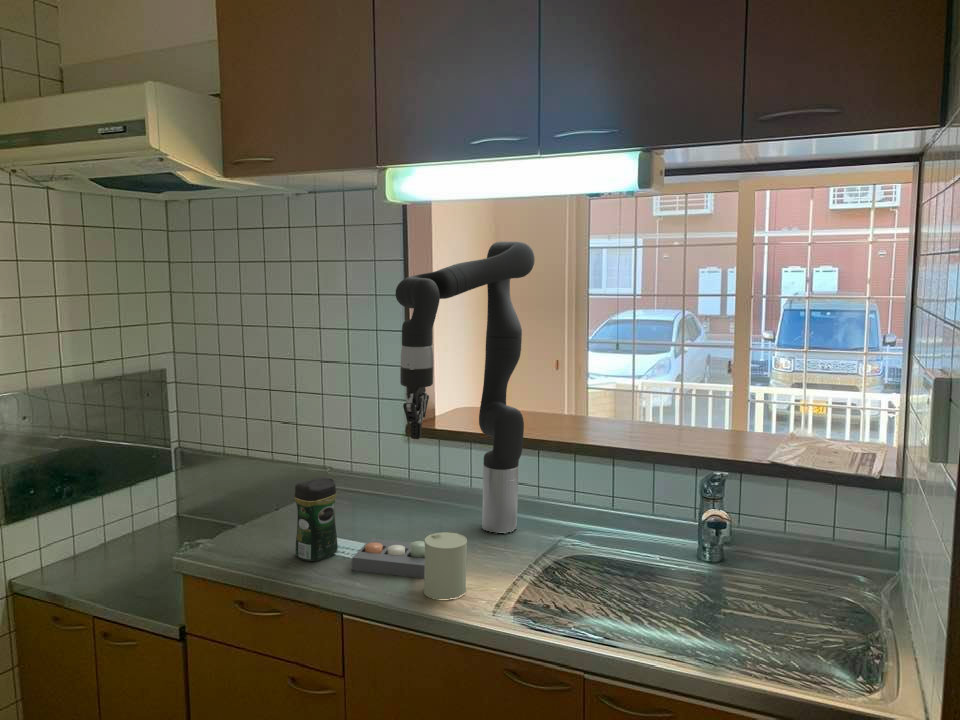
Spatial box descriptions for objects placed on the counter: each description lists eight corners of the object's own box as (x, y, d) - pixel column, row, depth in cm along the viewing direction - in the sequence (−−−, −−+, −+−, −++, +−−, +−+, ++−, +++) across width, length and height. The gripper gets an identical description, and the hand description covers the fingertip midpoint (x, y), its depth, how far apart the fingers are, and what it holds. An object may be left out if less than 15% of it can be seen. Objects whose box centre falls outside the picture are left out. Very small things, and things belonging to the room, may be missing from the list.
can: (443, 578, 165) (444, 526, 163) (475, 590, 159) (476, 537, 158) (414, 591, 158) (415, 538, 156) (446, 605, 152) (447, 549, 151)
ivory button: (390, 556, 174) (391, 544, 174) (407, 558, 174) (407, 545, 173) (385, 563, 171) (385, 550, 170) (401, 564, 170) (401, 552, 169)
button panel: (370, 550, 180) (370, 538, 179) (438, 557, 176) (438, 545, 176) (352, 570, 168) (352, 557, 168) (424, 578, 165) (424, 565, 164)
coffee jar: (320, 544, 183) (320, 471, 180) (342, 552, 178) (342, 478, 175) (289, 556, 175) (288, 480, 172) (311, 565, 170) (310, 487, 168)
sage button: (413, 552, 173) (413, 540, 173) (429, 554, 172) (429, 541, 172) (408, 559, 169) (408, 546, 169) (424, 560, 168) (425, 548, 168)
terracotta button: (368, 553, 176) (368, 541, 175) (384, 555, 175) (384, 543, 174) (362, 560, 172) (362, 548, 171) (379, 562, 171) (379, 549, 171)
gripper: (409, 360, 177) (409, 430, 180) (392, 368, 165) (391, 443, 167) (440, 362, 176) (439, 433, 178) (424, 369, 163) (423, 446, 165)
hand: (416, 438), depth 173 cm, fingers closed
